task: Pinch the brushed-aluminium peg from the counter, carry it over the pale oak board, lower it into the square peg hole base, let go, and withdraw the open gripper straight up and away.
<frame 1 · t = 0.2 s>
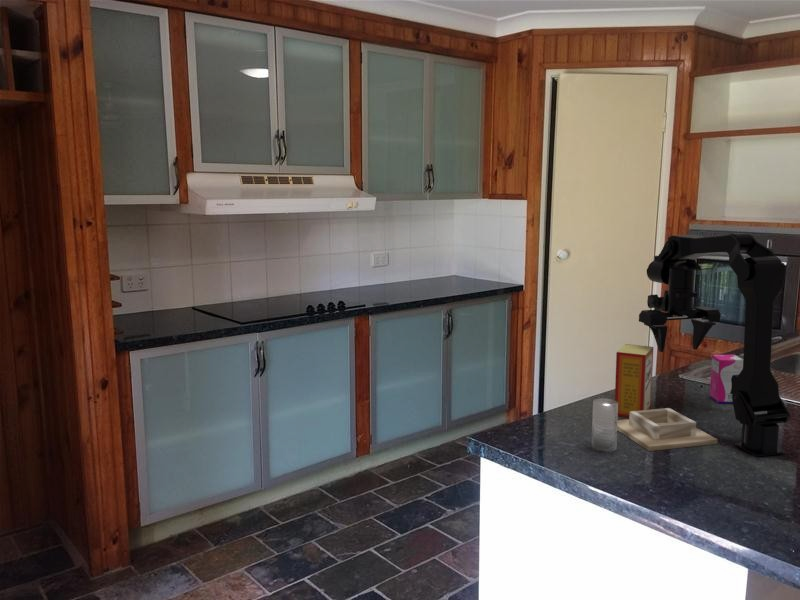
hand: (678, 350, 161), 15 cm above the counter, fingers open, 9 cm apart
supplement box: (724, 401, 169), on the counter
square peg hole base: (661, 434, 147), on the counter
baking soda box: (632, 412, 161), on the counter
aluminium peg: (604, 447, 140), on the counter
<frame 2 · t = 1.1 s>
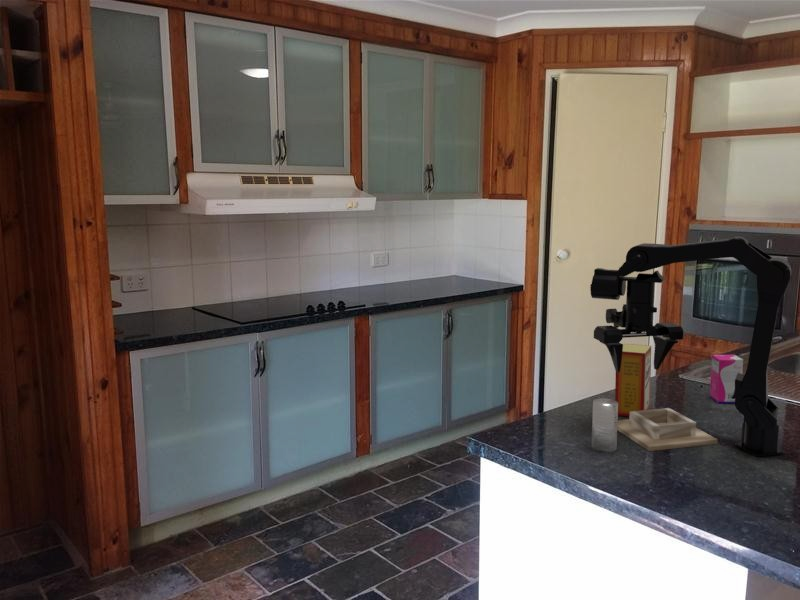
hand: (636, 370, 147), 14 cm above the counter, fingers open, 9 cm apart
nothing on the counter moved.
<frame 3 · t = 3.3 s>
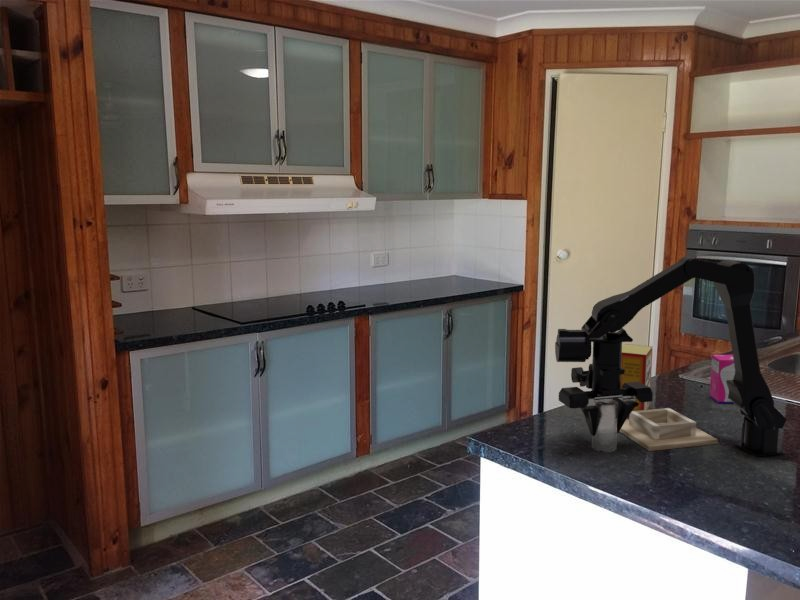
hand: (604, 433, 139), 3 cm above the counter, fingers closed on aluminium peg, 5 cm apart
aluminium peg: (604, 447, 140), on the counter, touching gripper
everything else where it was.
when the fingers open (5 cm above the counter, at t = 8.1 s): aluminium peg stays where it is, resting on square peg hole base.
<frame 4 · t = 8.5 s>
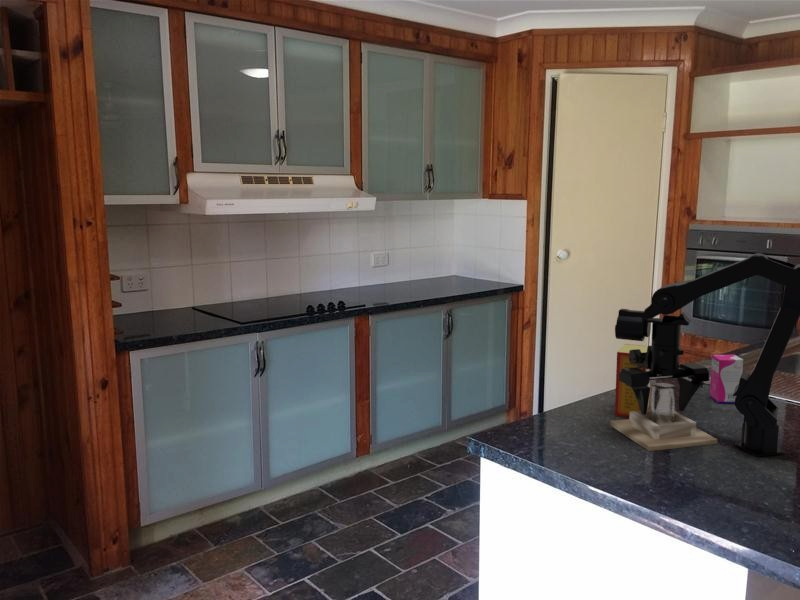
hand: (662, 412, 146), 5 cm above the counter, fingers open, 9 cm apart
aluminium peg: (661, 429, 146), point 1 cm above the counter, touching square peg hole base
everything else where it was.
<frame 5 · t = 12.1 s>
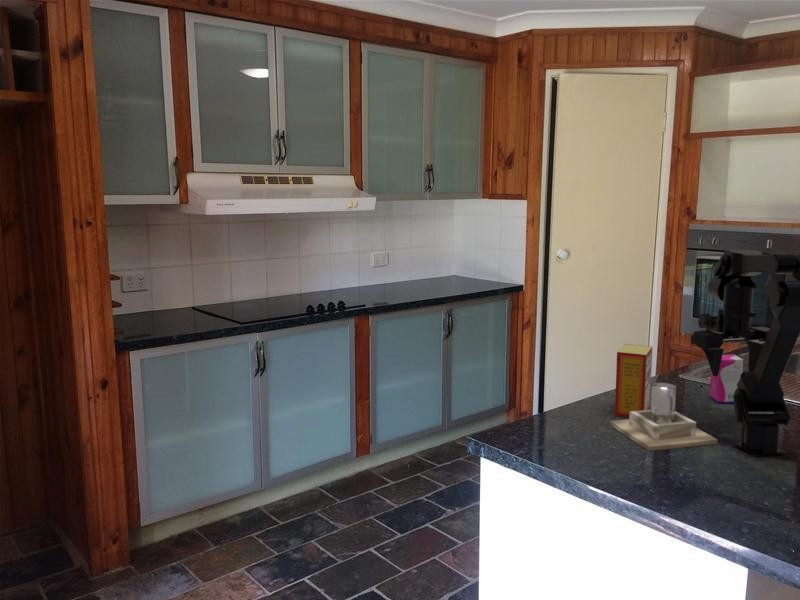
hand: (733, 374, 149), 12 cm above the counter, fingers open, 9 cm apart
nothing on the counter moved.
at the end: aluminium peg 0.0 cm off-centre on the square peg hole base, point 1.0 cm above the square peg hole base's base; aluminium peg tilted 0°; the gripper is holding nothing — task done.
